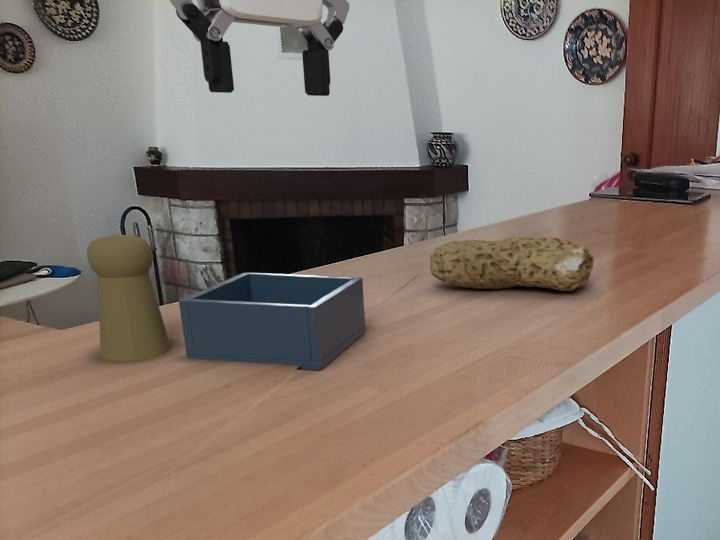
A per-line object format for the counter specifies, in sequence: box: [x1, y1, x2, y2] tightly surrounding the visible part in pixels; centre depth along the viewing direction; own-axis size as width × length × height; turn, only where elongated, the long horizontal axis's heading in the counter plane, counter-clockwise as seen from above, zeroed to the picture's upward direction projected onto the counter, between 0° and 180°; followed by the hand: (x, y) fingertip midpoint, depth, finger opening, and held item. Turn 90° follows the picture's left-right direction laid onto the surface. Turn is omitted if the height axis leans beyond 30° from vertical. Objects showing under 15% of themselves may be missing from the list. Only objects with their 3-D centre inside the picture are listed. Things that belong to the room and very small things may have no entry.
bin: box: [178, 271, 366, 371], centre depth 75 cm, size 13×13×6 cm
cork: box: [86, 234, 172, 362], centre depth 71 cm, size 6×6×11 cm
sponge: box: [428, 236, 595, 292], centre depth 101 cm, size 13×8×20 cm
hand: (271, 94), depth 71 cm, fingers open, 9 cm apart
